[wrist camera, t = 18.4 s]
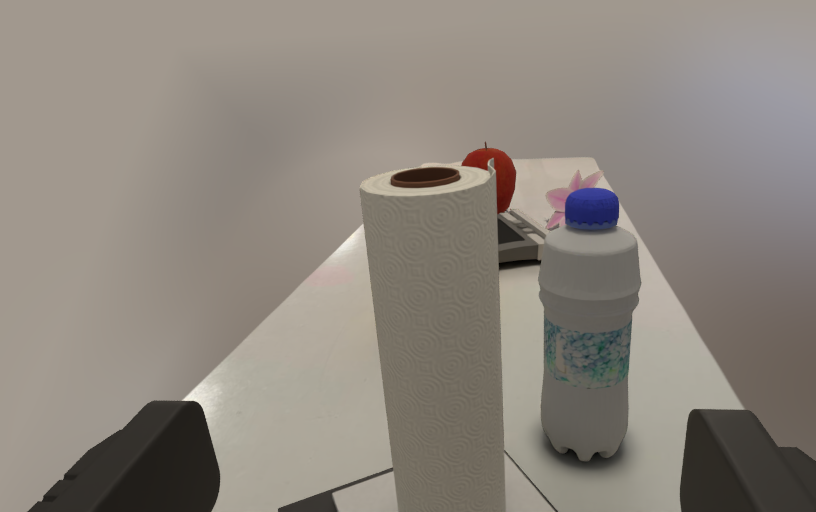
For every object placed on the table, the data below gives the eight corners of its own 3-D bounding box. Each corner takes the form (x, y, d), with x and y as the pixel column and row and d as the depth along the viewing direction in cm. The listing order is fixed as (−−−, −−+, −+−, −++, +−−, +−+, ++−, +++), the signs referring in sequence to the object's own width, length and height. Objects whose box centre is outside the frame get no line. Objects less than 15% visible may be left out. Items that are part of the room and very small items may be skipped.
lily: (547, 222, 96) (526, 182, 91) (612, 196, 92) (594, 151, 87) (559, 265, 87) (536, 222, 82) (632, 238, 83) (613, 191, 78)
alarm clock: (561, 239, 75) (447, 246, 72) (559, 270, 76) (447, 278, 74) (517, 208, 91) (422, 213, 88) (516, 235, 92) (422, 240, 90)
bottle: (580, 403, 46) (587, 172, 39) (648, 446, 40) (671, 187, 34) (520, 434, 43) (516, 190, 36) (585, 485, 37) (596, 209, 31)
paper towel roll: (410, 587, 29) (364, 197, 21) (394, 501, 34) (354, 169, 27) (539, 559, 30) (538, 176, 22) (503, 480, 35) (493, 153, 28)
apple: (522, 223, 94) (521, 143, 89) (465, 228, 94) (461, 148, 89) (509, 207, 104) (508, 134, 99) (458, 212, 104) (454, 139, 99)
